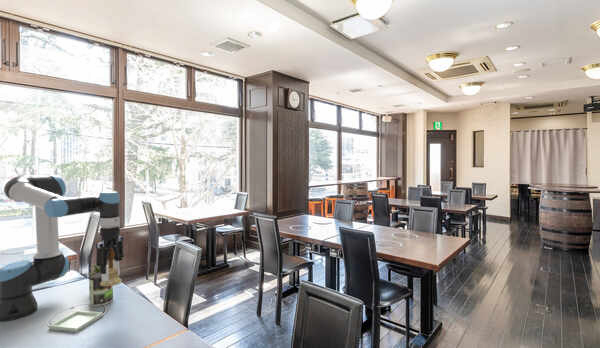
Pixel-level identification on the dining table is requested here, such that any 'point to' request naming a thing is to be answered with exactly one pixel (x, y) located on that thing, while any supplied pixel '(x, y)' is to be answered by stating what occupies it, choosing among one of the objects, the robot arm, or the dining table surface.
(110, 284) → the hand bell
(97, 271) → the house plant
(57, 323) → the tray
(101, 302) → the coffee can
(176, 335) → the dining table surface
